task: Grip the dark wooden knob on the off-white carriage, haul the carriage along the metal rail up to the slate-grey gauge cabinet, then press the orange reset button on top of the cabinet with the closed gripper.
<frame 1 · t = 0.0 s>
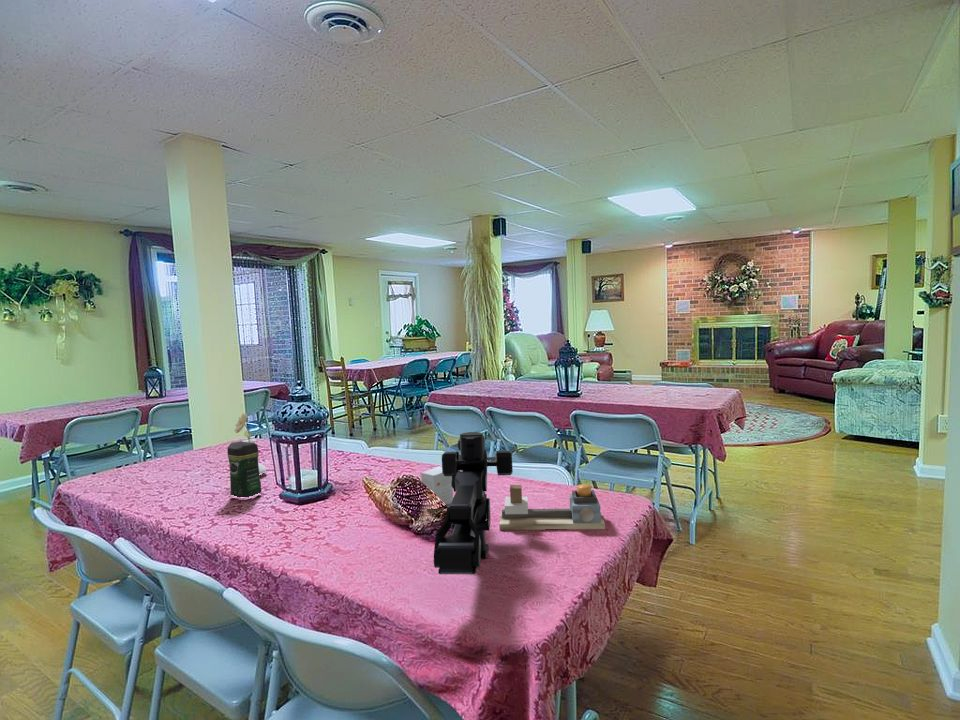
hand: (480, 455, 142), 17 cm above the table, tool horizontal, fingers open, 9 cm apart
small box: (438, 505, 151), on the table
flower in vase: (251, 477, 189), on the table
carriage: (516, 497, 134), point 7 cm above the table, slide at 0.0 cm
rail cabinet: (550, 521, 134), on the table
coffee jar: (246, 497, 166), on the table
reset button: (584, 490, 132), point 8 cm above the table, slide at 0.0 cm
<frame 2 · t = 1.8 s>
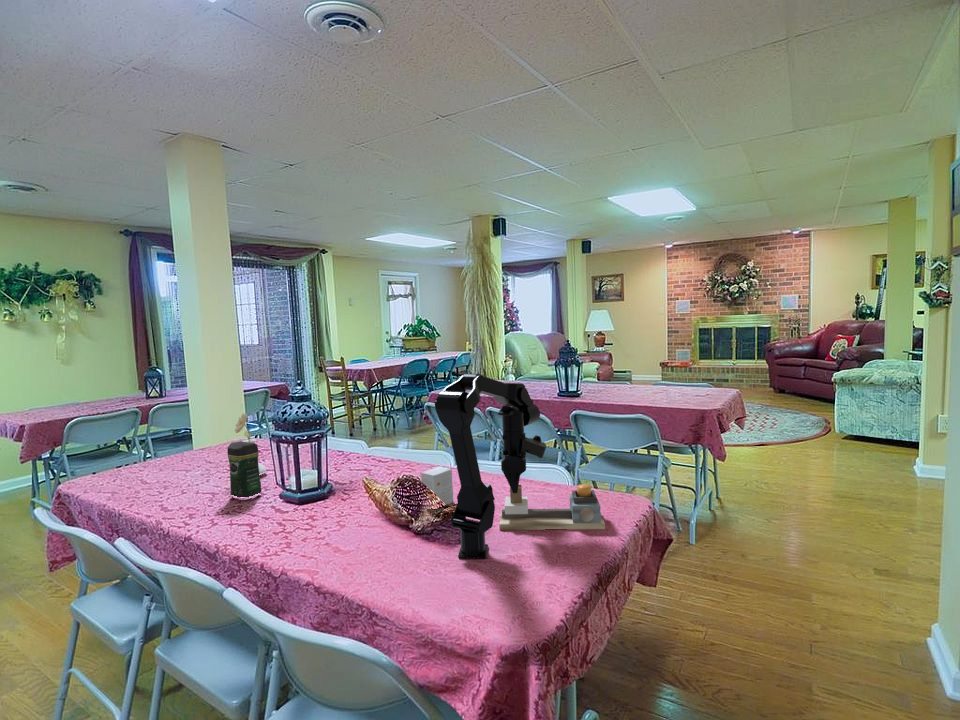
hand: (515, 487, 134), 10 cm above the table, tool pointing down, fingers open, 9 cm apart
nothing on the table moved.
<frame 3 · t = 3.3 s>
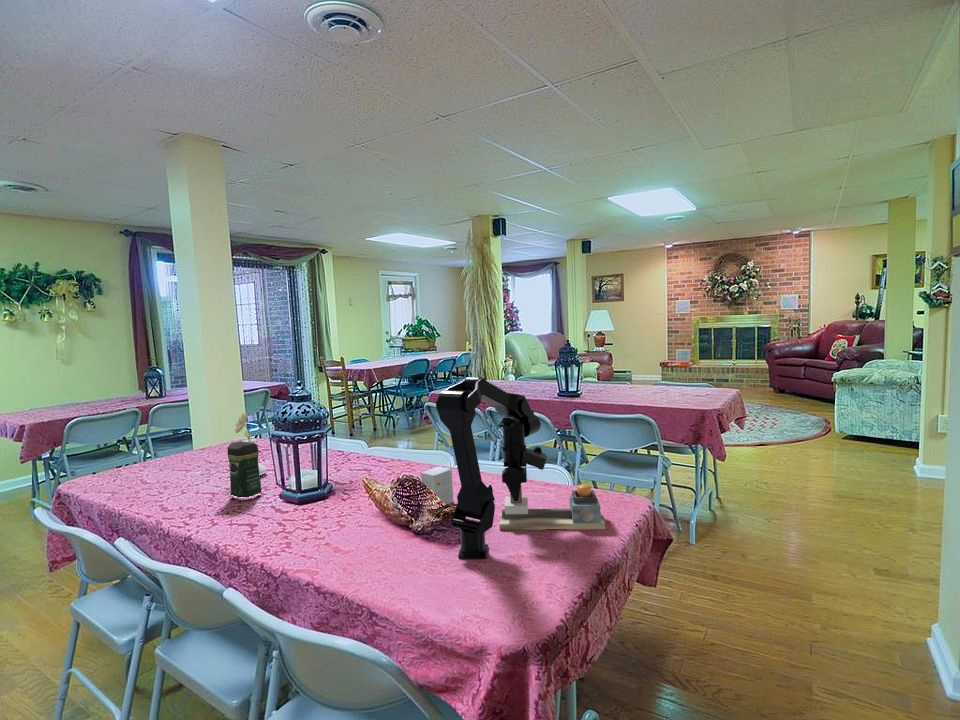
hand: (516, 498, 134), 7 cm above the table, tool pointing down, fingers closed on carriage, 3 cm apart
carriage: (516, 497, 134), point 7 cm above the table, slide at 0.0 cm, touching gripper
everything else where it was.
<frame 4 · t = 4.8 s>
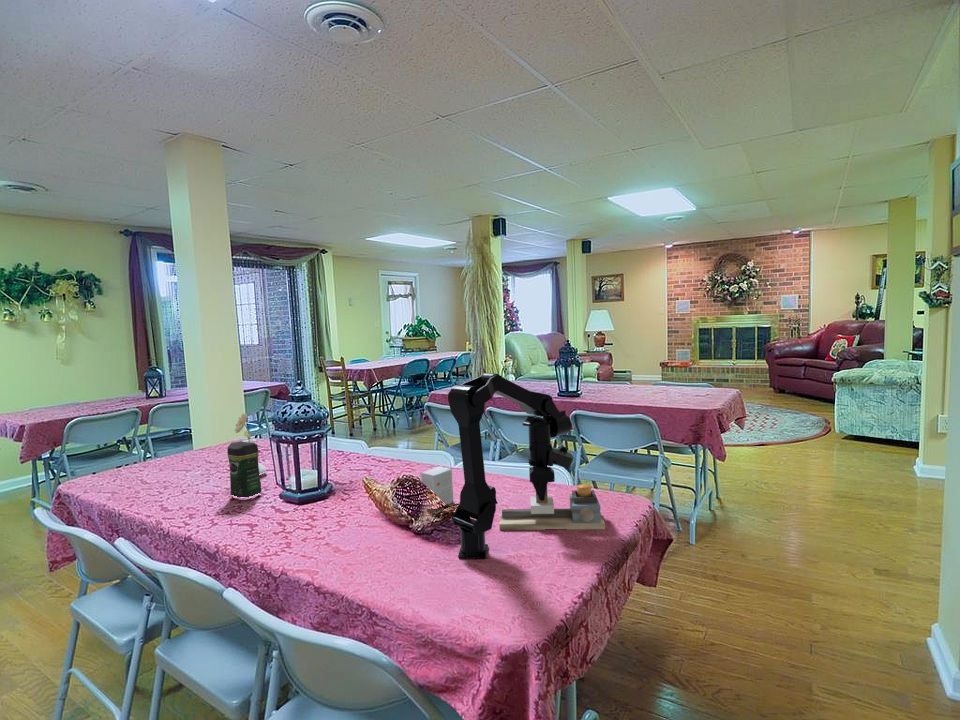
hand: (541, 498, 134), 7 cm above the table, tool pointing down, fingers closed on carriage, 3 cm apart
carriage: (541, 497, 134), point 7 cm above the table, slide at 6.8 cm, touching gripper
everything else where it was.
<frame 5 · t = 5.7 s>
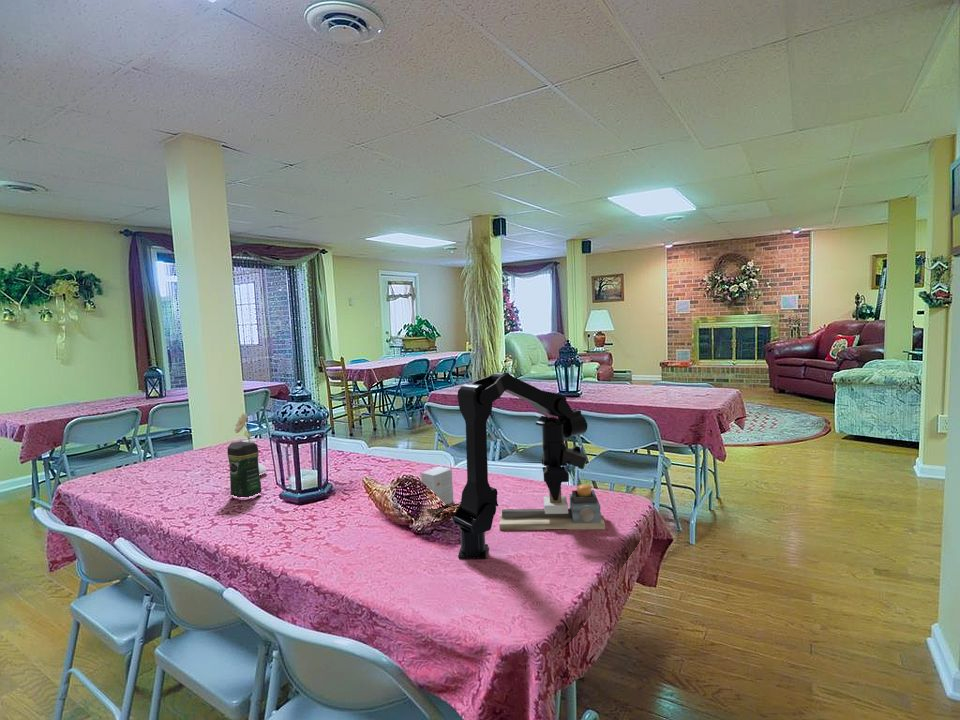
hand: (555, 498, 133), 7 cm above the table, tool pointing down, fingers closed on carriage, 3 cm apart
carriage: (555, 497, 133), point 7 cm above the table, slide at 10.4 cm, touching gripper
everything else where it was.
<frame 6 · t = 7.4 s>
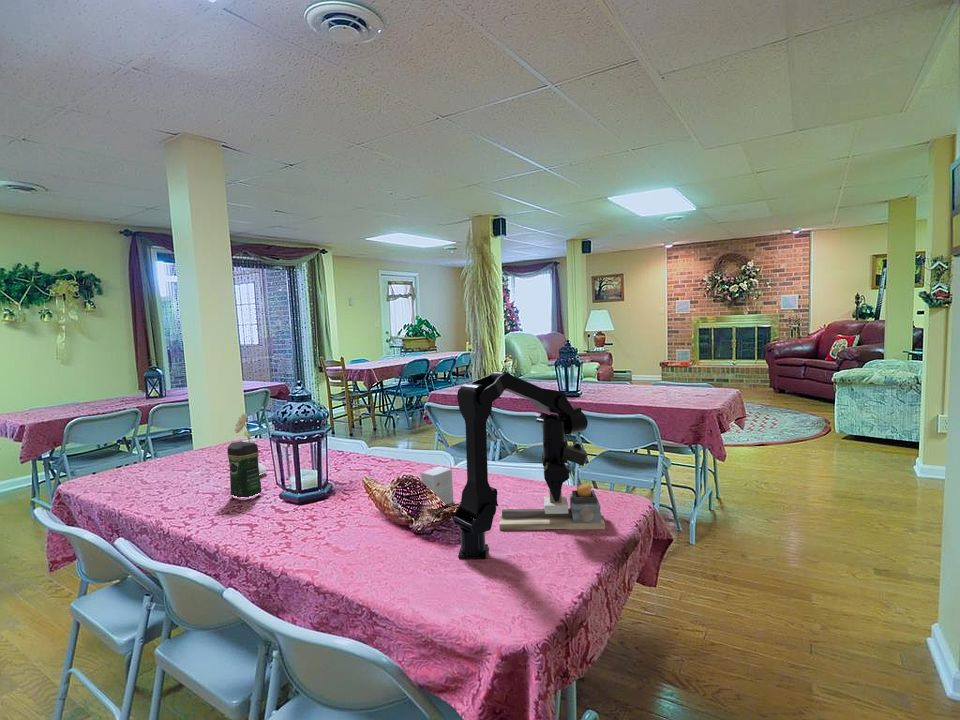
hand: (555, 495, 133), 7 cm above the table, tool pointing down, fingers open, 9 cm apart
carriage: (555, 497, 133), point 7 cm above the table, slide at 10.5 cm
everything else where it was.
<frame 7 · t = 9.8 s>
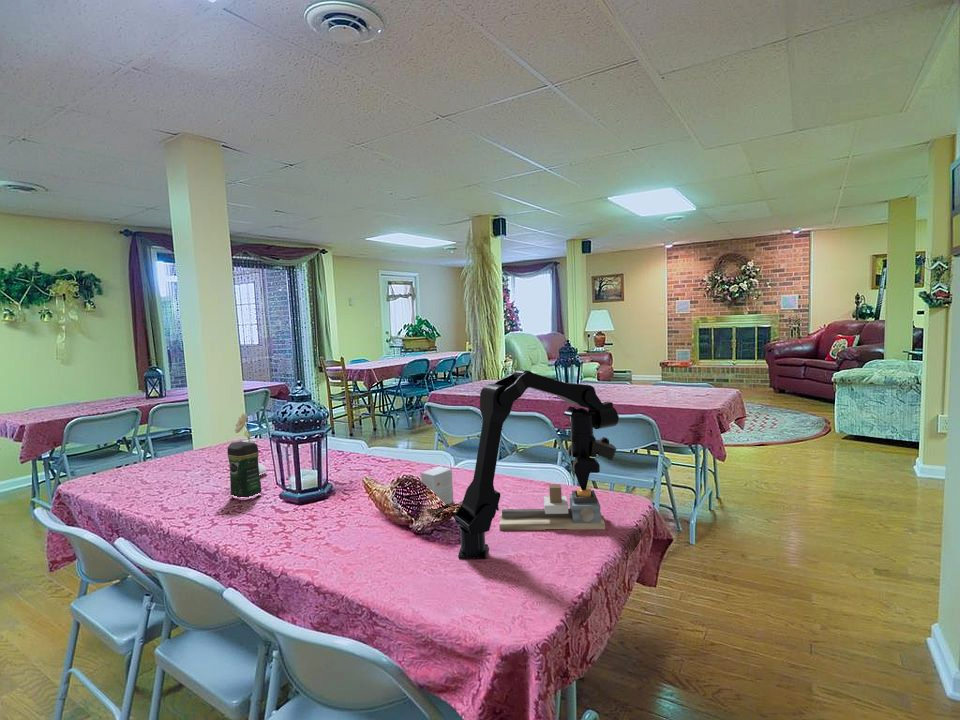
hand: (583, 489, 132), 9 cm above the table, tool pointing down, fingers closed, pressing on reset button
reset button: (584, 493, 132), point 8 cm above the table, slide at 0.9 cm, touching gripper
everything else where it was.
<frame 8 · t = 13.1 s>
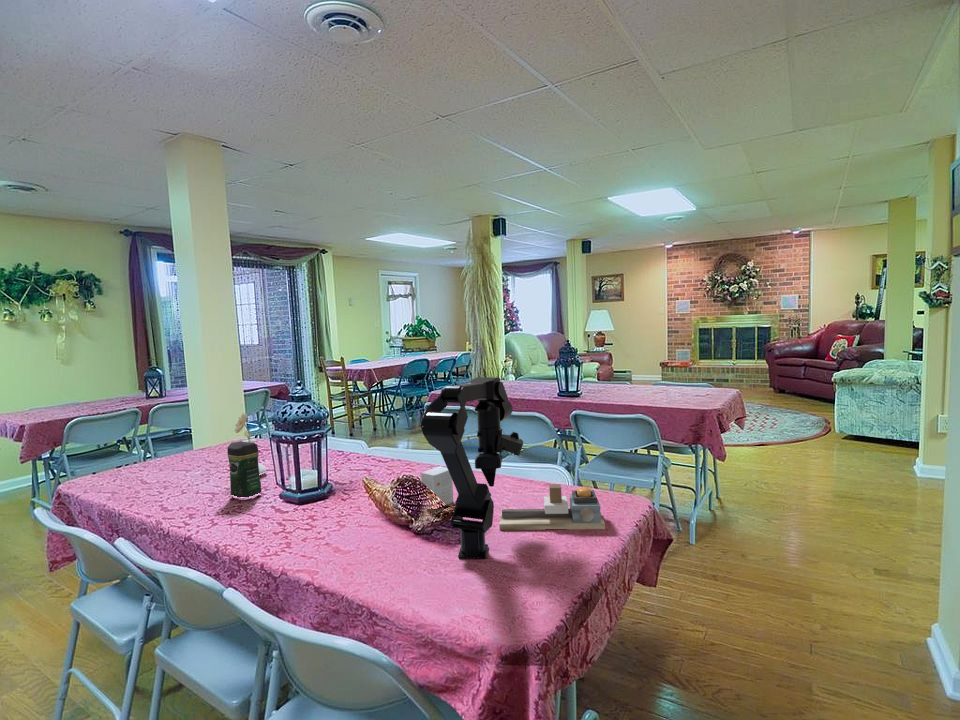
hand: (491, 486, 128), 12 cm above the table, tool pointing down, fingers closed
reset button: (584, 494, 132), point 8 cm above the table, slide at 0.9 cm
everything else where it was.
at the end: carriage slide at 10.5 cm; reset button slide at 0.9 cm; the gripper is holding nothing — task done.
